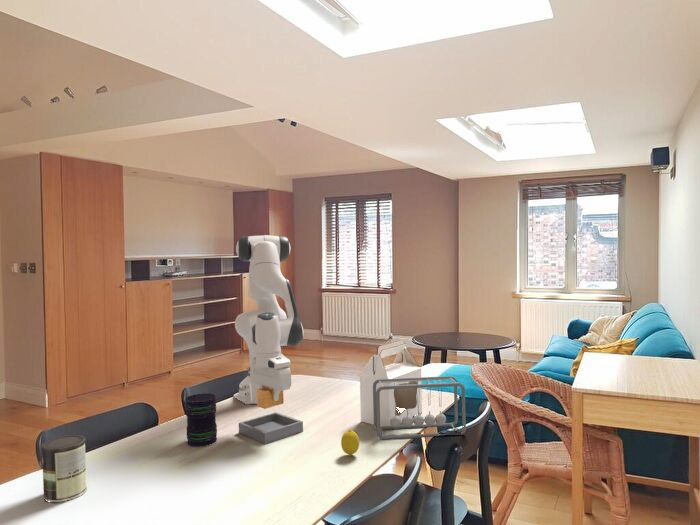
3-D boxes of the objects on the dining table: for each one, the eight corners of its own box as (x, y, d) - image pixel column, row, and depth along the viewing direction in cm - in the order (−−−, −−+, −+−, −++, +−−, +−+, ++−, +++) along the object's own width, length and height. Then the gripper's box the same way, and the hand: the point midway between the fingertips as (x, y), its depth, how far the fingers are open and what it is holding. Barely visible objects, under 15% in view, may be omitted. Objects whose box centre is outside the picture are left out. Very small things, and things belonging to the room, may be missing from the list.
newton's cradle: (377, 440, 171) (376, 387, 171) (373, 429, 182) (372, 379, 181) (466, 435, 174) (465, 382, 173) (457, 425, 184) (456, 375, 184)
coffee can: (35, 504, 132) (33, 449, 132) (54, 486, 143) (52, 435, 142) (77, 501, 133) (75, 447, 133) (93, 484, 144) (91, 433, 143)
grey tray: (238, 432, 182) (238, 422, 182) (276, 421, 193) (275, 412, 193) (265, 443, 170) (264, 433, 170) (303, 431, 182) (302, 421, 182)
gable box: (389, 429, 182) (387, 349, 181) (360, 422, 190) (358, 346, 190) (422, 412, 199) (420, 340, 199) (394, 407, 208) (392, 337, 207)
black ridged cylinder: (223, 438, 177) (222, 395, 176) (203, 448, 168) (202, 402, 168) (200, 434, 181) (199, 392, 181) (180, 444, 172) (178, 399, 172)
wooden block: (257, 406, 180) (256, 389, 180) (276, 401, 186) (275, 384, 186) (264, 408, 177) (264, 391, 177) (283, 403, 183) (283, 386, 183)
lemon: (361, 453, 160) (361, 427, 160) (356, 460, 155) (355, 433, 155) (344, 451, 162) (344, 426, 162) (338, 458, 157) (338, 432, 157)
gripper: (244, 357, 187) (246, 396, 187) (278, 364, 172) (280, 406, 172) (259, 354, 191) (260, 392, 191) (293, 361, 176) (295, 402, 176)
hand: (270, 399), depth 181 cm, fingers closed on wooden block, 4 cm apart
